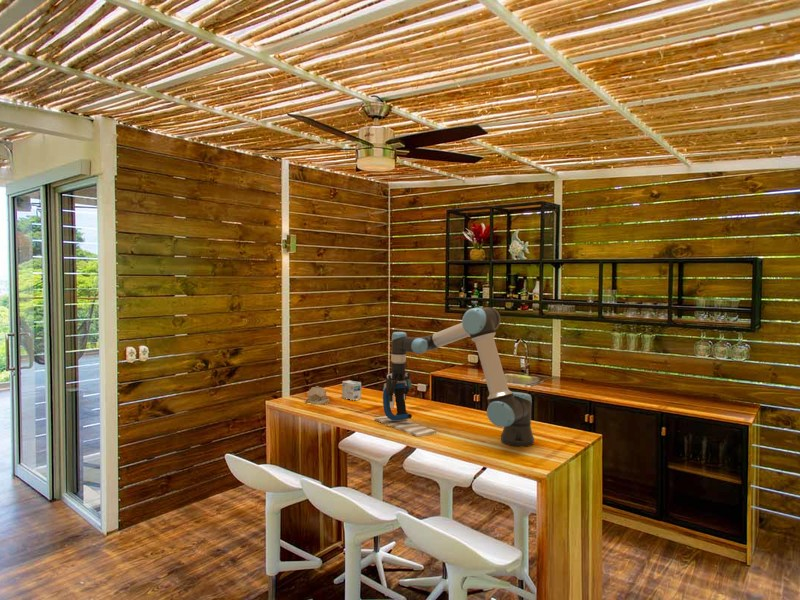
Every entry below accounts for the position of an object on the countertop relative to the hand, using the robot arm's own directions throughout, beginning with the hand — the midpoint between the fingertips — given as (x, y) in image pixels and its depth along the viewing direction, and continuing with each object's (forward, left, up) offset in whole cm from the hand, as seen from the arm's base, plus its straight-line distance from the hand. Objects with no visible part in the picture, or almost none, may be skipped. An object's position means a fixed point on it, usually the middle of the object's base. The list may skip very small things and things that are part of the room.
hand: (397, 406), depth 276 cm
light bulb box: (+61, -10, -9) cm, 63 cm away
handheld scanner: (-3, 0, -6) cm, 7 cm away
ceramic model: (+64, +12, -9) cm, 66 cm away
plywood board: (-6, 0, -9) cm, 11 cm away
